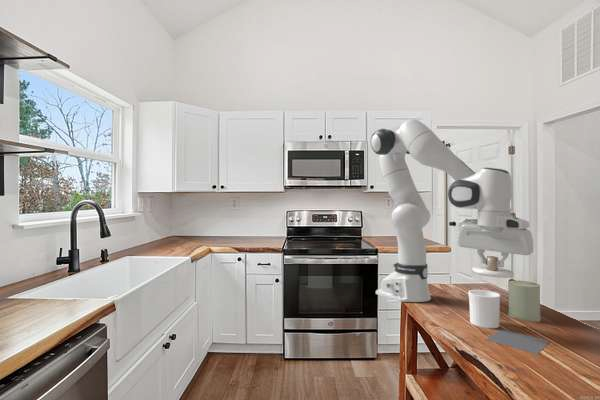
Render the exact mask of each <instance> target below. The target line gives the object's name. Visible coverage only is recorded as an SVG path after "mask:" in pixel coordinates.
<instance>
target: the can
mask: <svg viewBox="0 0 600 400" xmlns="http://www.w3.org/2000/svg"><path fill="white" fill-rule="evenodd" d="M507 285H508V286H507V289H508V313H507V315H508V317H509V318H515V319H518V320H523V321H527V322H532V323H537V322H541V321H542V318H541V284H539V283H537V282H532V281H528V280H508V281H507Z"/></svg>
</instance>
